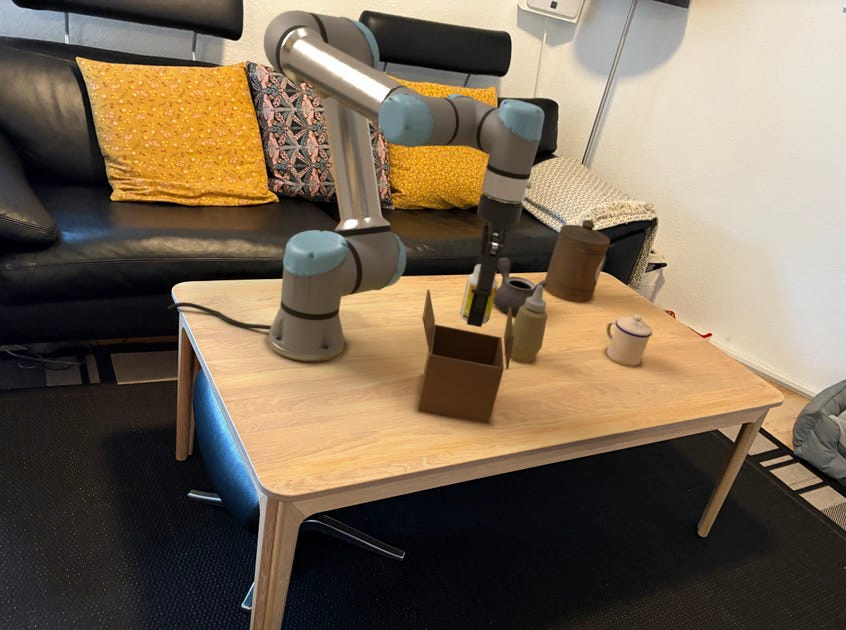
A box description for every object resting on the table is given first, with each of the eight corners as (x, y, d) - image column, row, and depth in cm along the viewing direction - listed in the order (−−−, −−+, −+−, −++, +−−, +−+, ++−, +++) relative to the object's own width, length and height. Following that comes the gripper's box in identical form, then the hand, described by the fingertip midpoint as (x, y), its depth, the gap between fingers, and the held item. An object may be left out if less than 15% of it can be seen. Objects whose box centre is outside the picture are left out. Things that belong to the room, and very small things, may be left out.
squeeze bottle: (535, 368, 154) (556, 297, 145) (501, 359, 154) (520, 287, 146) (539, 353, 161) (559, 285, 152) (506, 344, 161) (525, 275, 153)
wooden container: (600, 303, 198) (624, 232, 187) (557, 301, 191) (578, 228, 181) (577, 281, 209) (598, 214, 199) (535, 279, 203) (554, 209, 193)
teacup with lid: (647, 363, 169) (663, 322, 163) (625, 369, 163) (640, 327, 158) (612, 340, 176) (626, 300, 171) (589, 345, 171) (603, 304, 165)
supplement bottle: (492, 326, 125) (505, 275, 120) (465, 325, 123) (476, 274, 118) (482, 312, 129) (494, 263, 125) (455, 311, 127) (466, 261, 122)
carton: (417, 411, 128) (436, 321, 119) (422, 376, 140) (439, 293, 131) (493, 424, 130) (517, 337, 121) (492, 389, 141) (513, 307, 132)
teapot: (553, 316, 182) (564, 282, 177) (509, 321, 173) (518, 286, 168) (512, 286, 194) (521, 254, 190) (469, 289, 185) (477, 255, 181)
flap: (431, 351, 122) (428, 351, 122) (435, 321, 133) (433, 321, 133) (424, 317, 119) (422, 318, 119) (429, 289, 130) (427, 289, 130)
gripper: (527, 218, 107) (494, 344, 118) (520, 187, 124) (492, 301, 135) (481, 208, 107) (452, 336, 117) (480, 179, 123) (455, 294, 134)
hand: (474, 317), depth 126 cm, fingers closed on supplement bottle, 6 cm apart
